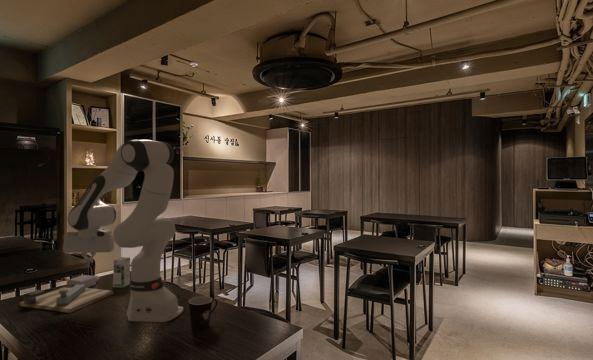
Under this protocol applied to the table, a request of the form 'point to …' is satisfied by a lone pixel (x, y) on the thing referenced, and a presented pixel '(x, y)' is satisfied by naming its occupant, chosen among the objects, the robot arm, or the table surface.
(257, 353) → the table surface
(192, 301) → the coffee mug
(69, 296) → the link
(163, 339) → the table surface
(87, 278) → the charger
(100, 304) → the table surface
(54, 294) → the pintle plate
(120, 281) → the syrup box
